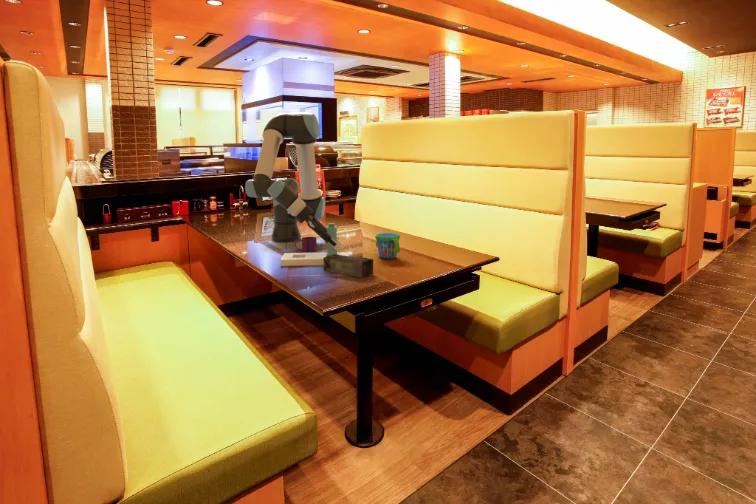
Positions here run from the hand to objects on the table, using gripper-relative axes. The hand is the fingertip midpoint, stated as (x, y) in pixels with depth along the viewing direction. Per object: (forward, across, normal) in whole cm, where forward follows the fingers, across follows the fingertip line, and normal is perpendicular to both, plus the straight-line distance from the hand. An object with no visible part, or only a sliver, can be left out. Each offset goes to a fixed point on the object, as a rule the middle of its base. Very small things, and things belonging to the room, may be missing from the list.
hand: (341, 249), depth 202 cm
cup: (-8, -20, -16) cm, 27 cm away
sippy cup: (+19, -7, +10) cm, 22 cm away
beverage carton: (+6, +16, -2) cm, 18 cm away
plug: (+1, 0, -6) cm, 6 cm away
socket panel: (-4, 0, -12) cm, 12 cm away
